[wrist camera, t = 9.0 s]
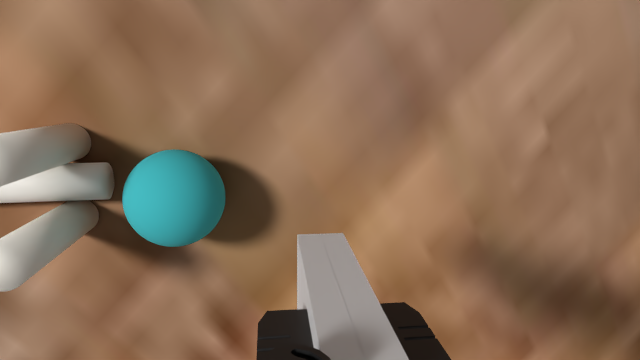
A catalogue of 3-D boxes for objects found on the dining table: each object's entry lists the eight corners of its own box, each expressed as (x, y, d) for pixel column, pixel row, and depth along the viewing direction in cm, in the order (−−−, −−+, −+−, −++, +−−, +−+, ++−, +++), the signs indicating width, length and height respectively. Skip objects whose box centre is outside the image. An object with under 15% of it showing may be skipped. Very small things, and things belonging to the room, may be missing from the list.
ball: (112, 171, 20) (113, 147, 26) (134, 275, 22) (131, 233, 27) (230, 154, 23) (209, 135, 28) (240, 249, 25) (219, 215, 30)
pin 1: (89, 123, 26) (8, 136, 18) (93, 159, 27) (16, 188, 19) (49, 123, 26) (-51, 136, 18) (54, 159, 27) (-41, 189, 18)
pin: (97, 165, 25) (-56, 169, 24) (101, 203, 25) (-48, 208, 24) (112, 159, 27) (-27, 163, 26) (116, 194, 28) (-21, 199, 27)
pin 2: (96, 197, 27) (23, 243, 19) (100, 231, 28) (31, 289, 20) (58, 198, 27) (-32, 245, 19) (63, 232, 28) (-24, 292, 19)
